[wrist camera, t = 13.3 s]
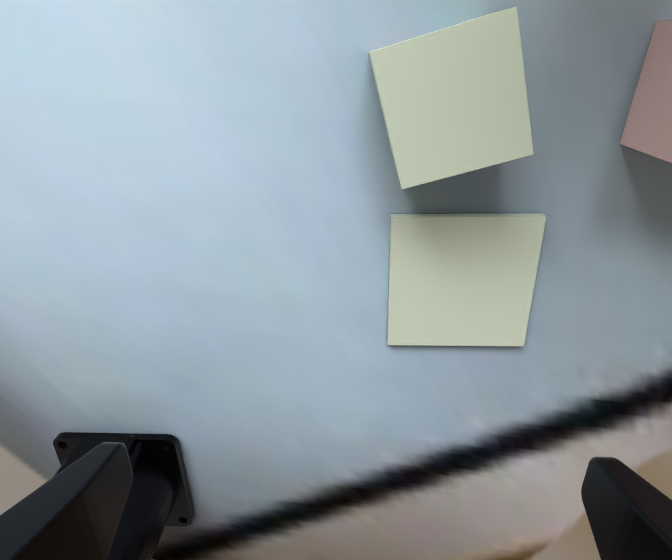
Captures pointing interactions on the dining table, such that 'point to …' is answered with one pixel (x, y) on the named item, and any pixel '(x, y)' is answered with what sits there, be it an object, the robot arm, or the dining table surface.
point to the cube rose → (653, 99)
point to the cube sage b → (455, 98)
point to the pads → (462, 278)
